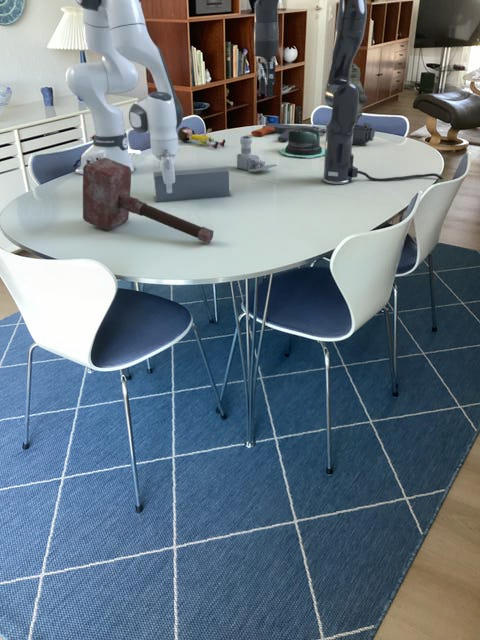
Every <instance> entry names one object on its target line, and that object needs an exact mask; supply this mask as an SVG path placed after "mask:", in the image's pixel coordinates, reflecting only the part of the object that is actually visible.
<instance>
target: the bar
mask: <svg viewBox="0 0 480 640" xmlns="http://www.w3.org/2000/svg"><path fill="white" fill-rule="evenodd" d="M174 171H175V183H172V193H167V191H166V184H164V181H163V177H162V173H161V171H153V181H154V182H153V183H154V191H155V192H154V193H155V199H156V202H158V203H161V202H170V201H171V202H172V201H184V200H198V199H209V198H222V197H223V198H224V197H230V171H229V170H228V167H226V166H221V167H207V168H206V167H205V168H193V169H179V170H174Z"/></svg>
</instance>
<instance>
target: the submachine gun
mask: <svg viewBox="0 0 480 640" xmlns="http://www.w3.org/2000/svg"><path fill="white" fill-rule="evenodd" d="M298 128H311V129H316V130H318V131H319V132H320V137H323V136H324V135H326V128H322V129H320V127H319V126H309V125H298V124H288V123H286V124H285V123H273V122H269V123H265V125H262V127H261V128H258V129H254V130H252V131H251V132H250V133H251V134H250V135H251V136H255V137H262V136H264V135H266V134H271V133H278V134H280V135H279V136H278V137H277V141H278V142H288V140H289V131H291V130H294V129H298Z"/></svg>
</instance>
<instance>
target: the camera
mask: <svg viewBox="0 0 480 640" xmlns="http://www.w3.org/2000/svg"><path fill="white" fill-rule="evenodd" d="M239 140H240V153H238V154H236V168H237V169H240V170H244V171H248V173H254V172H261V171H265V170H267V169H271V168H274V167H277V164H276V163H273V164H267V165H266V161H265V160H261V159H260V156H259V155H255V154H252V143H253V141H252V140H253V139H252V135H242V136H240V139H239Z"/></svg>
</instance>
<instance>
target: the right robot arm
mask: <svg viewBox="0 0 480 640" xmlns="http://www.w3.org/2000/svg"><path fill="white" fill-rule="evenodd" d="M279 1H280V0H256V2H255V3H254V27H253V55H254V56H255V57H258V58H257V75H256V76H257V79H258V81H259V94H261V95H263V94H264V95H265V98H267V99H270V98H273V97H274V84H275V83H276V81H277V80H276V64H277V63H276V61H273V57H277V56H279V46H280V45H279V44H280V43H279V39H280V38H279V37H280V33H279V32H280V29H279V28H280V27H279ZM367 7H368V6H367V0H338V8H337V14H336V22H335V30H334V39H333V47H332V53H331V54H332V55H331V61H330V68H329V73H328V76H327V81H326V85H325V88H324V89H325V90H324V100H325V103H326V104H327V106H328V107H330V108H331V118H330V120H329V121H328V122H327V123H326V128H325V131H326V133H325V145H324V149H325V155H324V163H323V175H322V182H324V183H326V184H330V185H345V184H348V183H351V182H352V181H353V179H354V178H358V174H359V175H363V176H364V177H366V178H367V179H368V180H370V181H374V182H388V181H398V180H399V181H400V180H401V181H402V180H408V179H414V178H415V179H416V178H428V177H436V178H438V179H439V180H444V178H443V176H442V175H440V174H438V173H432V172H431V173H424V174H411V175H404V176H394V177H393V176H392V177H386V178H383V177H382V178H379V177H372V176H370V175H369V174H368V173H367V172H365V171H362V170H359V168H358V167H356V166H354V159H355V158H354V157H355V156H354V154H353V153H352V152H353V144H352V140H353V129H354V125H355V123H356V120H357V112H358V104H359V92H358V89H357V87H356V86H355V85H354V84H353V83H350V82H349V80H350V78H351V77H350V72H351V66H352V64H353V62H354V59H355V57H356V55H357V53H358V51H359V49H360V47H361V44H362V42H363V39H364V35H365V30H366V24H367V16H368V8H367Z"/></svg>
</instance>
